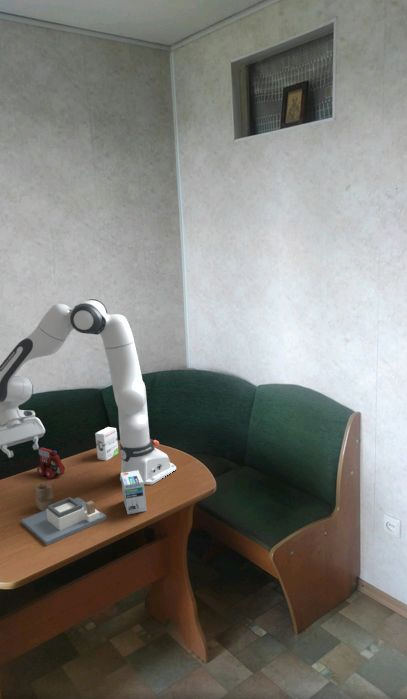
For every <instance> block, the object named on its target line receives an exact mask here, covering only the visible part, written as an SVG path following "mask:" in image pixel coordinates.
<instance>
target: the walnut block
mask: <svg viewBox="0 0 407 699" xmlns="http://www.w3.org/2000/svg"><path fill="white" fill-rule="evenodd" d="M33 490H34V497H35V504H36V508H37V509H38V510H39V511H40V512H42V511H45V510H46V509H48V506H49V505H51V504H54V503H55V502H54V495H53V494H54V492H53V487H52V486H51V485H49V484H48V483H47V482H45V483H40V484H39V485H37V486H35V487H34V486H33Z"/></svg>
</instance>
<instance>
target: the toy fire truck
mask: <svg viewBox="0 0 407 699" xmlns="http://www.w3.org/2000/svg"><path fill="white" fill-rule="evenodd" d="M37 451H38V455H39V462H40V465H38V466H37V469H36V470H37V471H36V472H37V474H38V475H39V476H41V477H43V476H46V478H47V479H53V478H55V475H56V474H57V475H62V474H63V473H65V470H66V467H65V465H64V464H63V463H62V460H61V458H60V456H59V455H58V453H57V450H52V449H49V448H45V447H39V448H38V449H37Z"/></svg>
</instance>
